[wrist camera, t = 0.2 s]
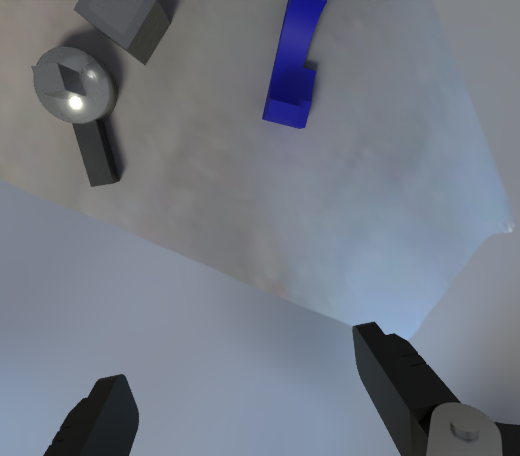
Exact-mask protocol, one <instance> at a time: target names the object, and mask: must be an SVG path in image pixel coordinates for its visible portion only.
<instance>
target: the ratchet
mask: <svg viewBox="0 0 520 456" xmlns="http://www.w3.org/2000/svg"><path fill="white" fill-rule="evenodd" d="M31 67H32V70H33V73H34V87H35V91H36V94H37V96H38V98H39V100H40V102H41V103H42V105H43V106H44V107H45V108H46V109H47V110H48V111H49V112H50V113H51V114H52V115H54V116H55V117H57V118H59V119H61V120H63V121H66V122H70V123H72V124H73V128H74V131H75V134H76V138H77V141H78V144H79V148H80V151H81V154H82V158H83V161H84V164H85V168H86V171H87V174H88V178H89V181H90V184H91V187H93V186H99V185H106V184H112V183H116V182H118V181H119V177H118V173H117V170H116V166H115V162H114V159H113V155H112V151H111V148H110V144H109V140H108V137H107V133H106V129H105V126H104V122H103V120H104V119H106V118H107V117H108V116H109V115H110V114H111V113H112V111H113V109H114V107H115V104H116V100H117V88H116V84H115V81H114V79H113V76H112V75H111V73H110V71H109V70H108V69H107V68H106V67H105V65H104V64H102V63H101V62H100V61H99V60H97V59H95V58H94V57H92V56H90V55H89V54H87V53H85V52H83V51H81V50H79V49H76V48H73V47H57V48H54V49H51V50H49V51H48V52H46V53H45V54H44V55H43V56H42V57H41V58H40V59H39V61H38V62H37V65H36V66H31Z"/></svg>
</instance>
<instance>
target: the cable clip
mask: <svg viewBox="0 0 520 456" xmlns="http://www.w3.org/2000/svg"><path fill="white" fill-rule="evenodd" d="M326 3H327V0H288V3H287V7H286V12H285V17H284V21H283V26H282V30H281V35H280V39H279V44H278V49H277V53H276V58H275V62H274V67H273V71H272V76H271V81H270V85H269V90H268V94H267V99H266V103H265V108H264V113H263V117H262V119H263V120H267V121H271V122H275V123H279V124H283V125H287V126H291V127H295V128H299V129H301V128H305V126H306V122H307V118H308V114H309V110H310V106H311V101H312V90H313V84H314V79H315V75H316V71H314V70H310V69H307V68H303V66H304V62H305V58H306V54H307V51H308V47H309V44H310V41H311V38H312V35H313V32H314V29H315V26H316V24H317V21H318V19H319V16H320V14H321V12H322V10H323V8H324V6H325V4H326Z"/></svg>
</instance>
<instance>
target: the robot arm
mask: <svg viewBox="0 0 520 456" xmlns="http://www.w3.org/2000/svg"><path fill="white" fill-rule="evenodd" d="M352 331H353V340H354V349H355V357H356V364H357V369H358V372H359V375H360V378H361V380H362V382H363V384H364V386H365V388H366V390H367V392H368V394H369V396H370V398H371V400H372V401H373V403H374V405H375V407H376V409H377V411H378V413H379V414H380V417H381V418H382V420H383V422H384V424H385V426H386V428H387V430H388V431H389V433H390V436H391V437H392V439H393V441H394V443H395V445H396V447H397V449H398V451H399V453H400V454H401V456H520V425H513V424H503V423H498V422H493V421H492V419H490V418H489V417H488V416H487V415H486V414H484V413H483V412H481V411H480V410H478V409H476V408H474V407H471V406H469V405H466V404H462V403H461V402H460V401H459V400H458V399H457V398H456V396H455V395H454V394H453V393H452V392H451V391H450V390H449V388H448V387H447V386H446V385H445V384H444V382H443V381H442V380H441V379H440V378H439V377H438V376H437V374H436V373H435V372H434V371H433V370H432V369H431V367H430V366H429V365H427V364H426V362H425V361H424V359H423V358H422V357H421V356H420V355H418V352H417V351H416V350H415V349H414V348H413V346H412V345H411V344H410V343H409V342H408V341H407V340H405V339H403V338H401V337H400V336H398V335H396V334H395V333H393V334H389V335H385V334H384V333H383V331H382V330H381V329H380V327H379V326H378V325H377V324H376V323H375V322H370V323H365V324H360V325H356V326H353V330H352ZM138 424H139V413H138V408H137V405H136V403H135V400H134V397H133V395H132V392H131V389H130V387H129V384H128V381H127V379H126V377H125V376H124V375H123V374H120V375H115V376H110V377H105V378H101V379H99V380H98V381H97V382H96V383H95V385H94V387H93V389H92V391H91V392H90V394H89V396H88V398H83V399H82V400H81V401H80V402H79V403H78V404H77V405H76V406H75V407H74V408H73V409H72V410H71V411H70V413H69V414H68V415H67V417H66V419H65V420H64V422H63V424H62V425H61V427H60V431H58V432H57V434H56V436H55V437H54V439H53V441H52V445H50V446H49V447H48V449H47V451H46V452H45V454H44V455H43V456H129V454H130V451H131V448H132V445H133V442H134V439H135V435H136V433H137V430H138Z"/></svg>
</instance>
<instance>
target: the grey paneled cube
mask: <svg viewBox="0 0 520 456" xmlns="http://www.w3.org/2000/svg"><path fill="white" fill-rule="evenodd" d="M74 10H75V11H76V12H77V13H79V14H80V15H81V16H82V17H83V18H85V19H86V20H87V21H88V22H90V23H91V24H92V25H93V26H94V27H96V28H97V29H98V30H99V31H101V32H102V33H103V34H104V35H106V36H107V37H108V38H110V39H111V40H112V41H114V42H115V43H116V44H118V45H119V46H120V47H121V48H123V49H124V50H125V51H127V52H128V53H129V54H131V55H132V56H133V57H135V58H136V59H137V60H139V61H140V62H141V63H143V64H144V65H146V63H147V62H148V60H149V58H150V57H151V55H152V53H153V52H154V50H155V48H156V47H157V45H158V43H159V42H160V40H161V39H162V37H163V35H164V34H165V32H166V30H167V29H168V27H169V25H170V24H171V23H170V21H169V19H168V17H167V15H166V13H165V12H164V10H163V8H162V6H161V4H160V2H159V0H79V1H78V3H77V4H76V6H75V8H74Z"/></svg>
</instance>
